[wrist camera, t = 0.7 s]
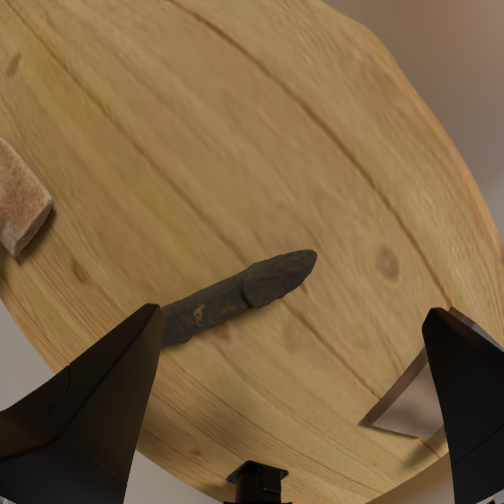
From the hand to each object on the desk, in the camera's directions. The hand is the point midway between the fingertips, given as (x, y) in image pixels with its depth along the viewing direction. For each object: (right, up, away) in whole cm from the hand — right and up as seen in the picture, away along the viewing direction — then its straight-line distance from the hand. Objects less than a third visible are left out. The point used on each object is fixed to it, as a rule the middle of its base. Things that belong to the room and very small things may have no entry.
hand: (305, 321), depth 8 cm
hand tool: (-5, -1, +17) cm, 18 cm away
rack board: (+22, -14, +18) cm, 32 cm away
